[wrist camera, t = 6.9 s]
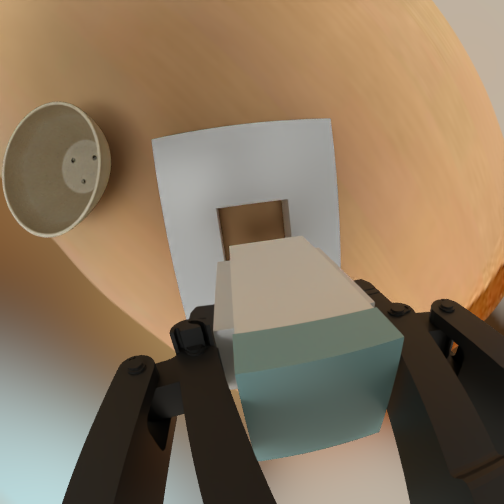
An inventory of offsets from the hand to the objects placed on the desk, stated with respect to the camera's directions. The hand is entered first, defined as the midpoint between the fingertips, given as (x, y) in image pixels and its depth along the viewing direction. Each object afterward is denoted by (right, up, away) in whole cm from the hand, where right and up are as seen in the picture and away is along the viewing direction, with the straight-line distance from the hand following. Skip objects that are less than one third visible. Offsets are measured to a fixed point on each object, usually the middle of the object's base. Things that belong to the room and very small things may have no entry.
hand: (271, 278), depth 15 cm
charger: (0, 0, +1) cm, 1 cm away
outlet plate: (-1, +3, +10) cm, 11 cm away
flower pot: (-17, +9, +7) cm, 20 cm away
